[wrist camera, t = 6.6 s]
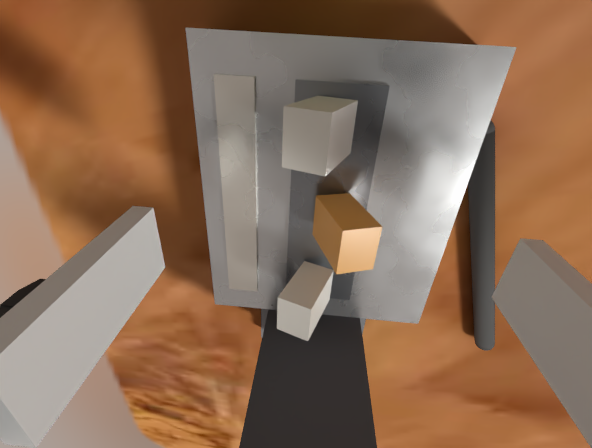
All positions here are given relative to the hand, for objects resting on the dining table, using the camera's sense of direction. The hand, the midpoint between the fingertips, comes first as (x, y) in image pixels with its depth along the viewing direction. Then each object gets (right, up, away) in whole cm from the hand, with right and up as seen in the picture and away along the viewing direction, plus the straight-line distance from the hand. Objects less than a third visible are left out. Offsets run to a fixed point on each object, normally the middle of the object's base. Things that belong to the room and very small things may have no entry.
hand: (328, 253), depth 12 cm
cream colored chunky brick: (0, +5, +1) cm, 5 cm away
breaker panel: (+1, +3, +6) cm, 7 cm away
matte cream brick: (0, -2, +5) cm, 5 cm away
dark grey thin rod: (+10, 0, +7) cm, 12 cm away
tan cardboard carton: (0, +2, +3) cm, 4 cm away
